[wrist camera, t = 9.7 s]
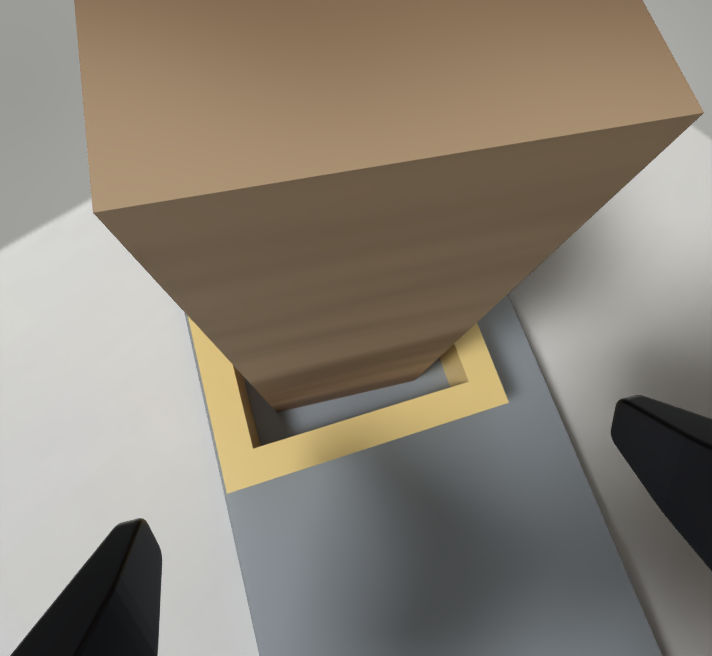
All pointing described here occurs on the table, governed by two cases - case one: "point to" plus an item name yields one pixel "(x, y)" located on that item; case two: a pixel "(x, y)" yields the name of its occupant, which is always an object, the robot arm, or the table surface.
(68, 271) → the table surface
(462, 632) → the base board
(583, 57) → the walnut column
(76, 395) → the table surface
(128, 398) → the table surface
